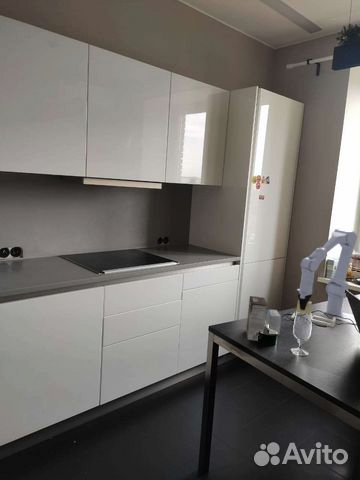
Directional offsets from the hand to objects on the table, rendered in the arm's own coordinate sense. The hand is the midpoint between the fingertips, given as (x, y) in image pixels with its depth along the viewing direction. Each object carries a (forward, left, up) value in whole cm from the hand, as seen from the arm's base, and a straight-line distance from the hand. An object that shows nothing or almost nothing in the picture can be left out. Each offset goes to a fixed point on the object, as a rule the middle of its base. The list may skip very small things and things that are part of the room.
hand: (303, 308), depth 177 cm
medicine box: (+27, -8, -5) cm, 28 cm away
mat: (0, 0, -4) cm, 4 cm away
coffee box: (+37, -13, -5) cm, 39 cm away
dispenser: (0, +9, -4) cm, 10 cm away
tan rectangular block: (0, 0, -2) cm, 2 cm away
